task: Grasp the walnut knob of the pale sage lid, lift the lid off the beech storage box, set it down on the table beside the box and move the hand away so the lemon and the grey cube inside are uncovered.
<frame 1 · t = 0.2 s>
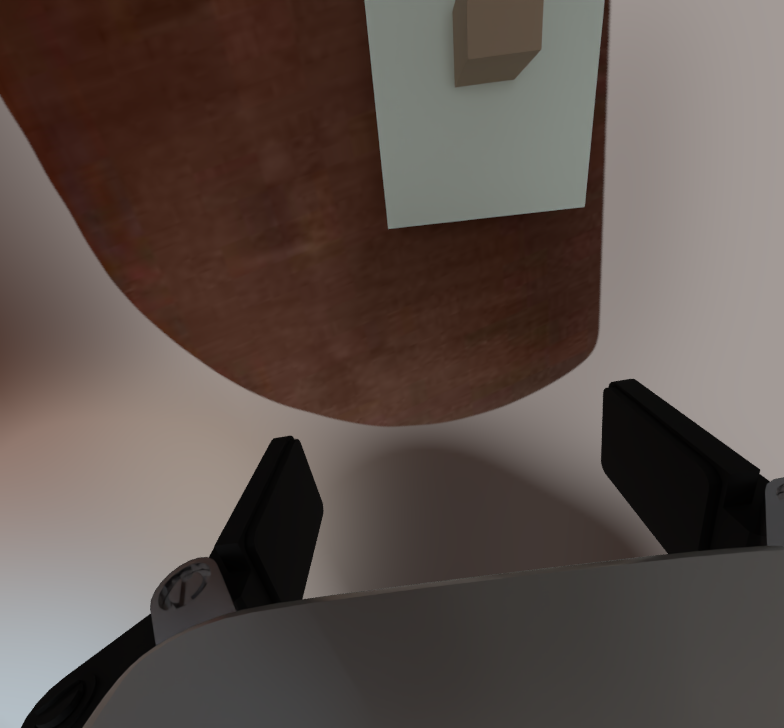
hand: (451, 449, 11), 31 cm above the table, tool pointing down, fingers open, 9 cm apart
lid: (481, 51, 24), point 9 cm above the table, touching box
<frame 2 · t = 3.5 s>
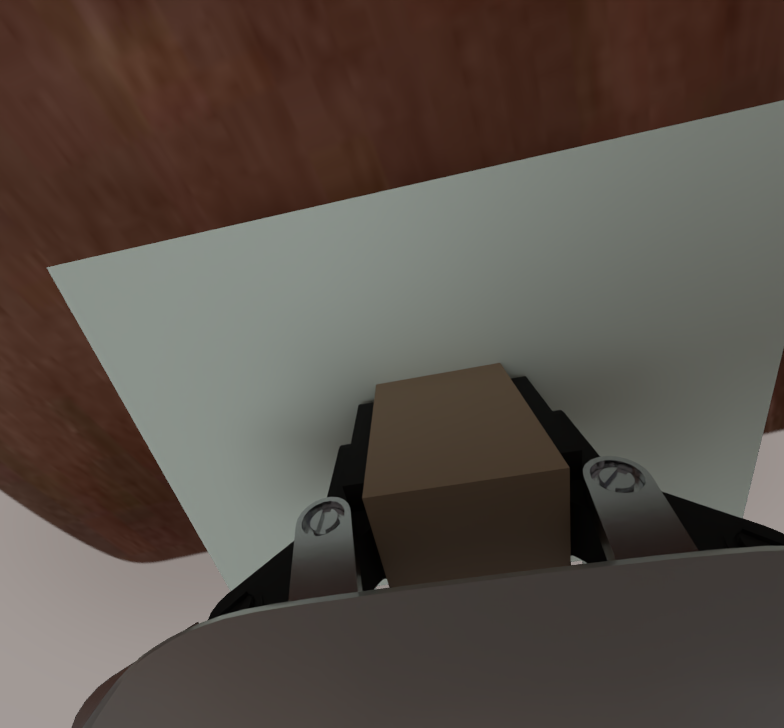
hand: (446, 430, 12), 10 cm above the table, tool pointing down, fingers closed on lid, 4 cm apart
lid: (443, 413, 13), point 9 cm above the table, touching box, gripper
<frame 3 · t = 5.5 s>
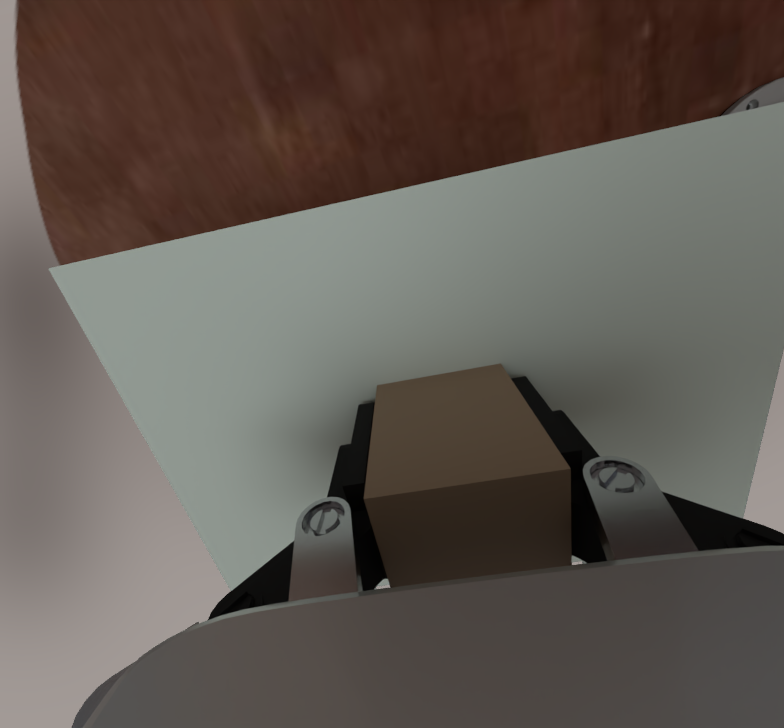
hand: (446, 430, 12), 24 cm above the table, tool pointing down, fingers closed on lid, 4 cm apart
lid: (443, 414, 13), point 23 cm above the table, touching gripper
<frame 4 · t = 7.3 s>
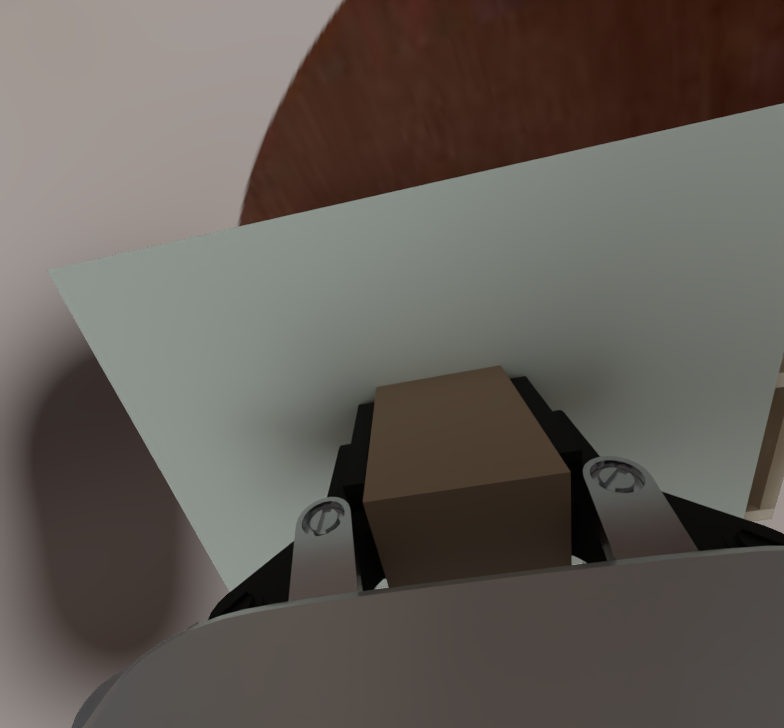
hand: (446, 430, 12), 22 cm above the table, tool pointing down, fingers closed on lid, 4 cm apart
box: (596, 412, 37), on the table
lid: (443, 415, 13), point 21 cm above the table, touching gripper
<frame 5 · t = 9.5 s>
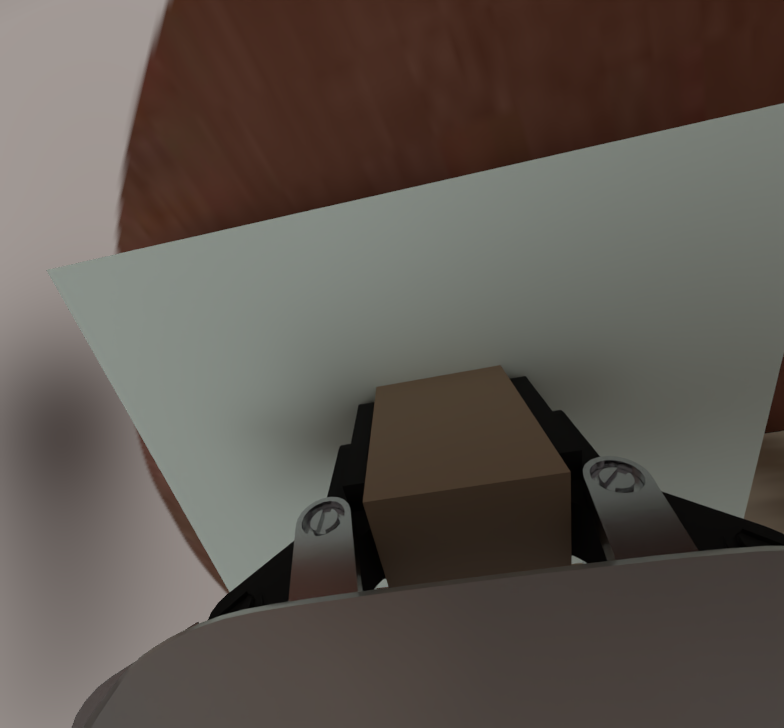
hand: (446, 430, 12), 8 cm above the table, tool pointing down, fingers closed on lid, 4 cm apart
box: (711, 528, 24), on the table
lid: (443, 415, 13), point 7 cm above the table, touching gripper
when the fingers open (3 cm above the table, at t = 11.4 s): lid drops 2 cm, on the table.
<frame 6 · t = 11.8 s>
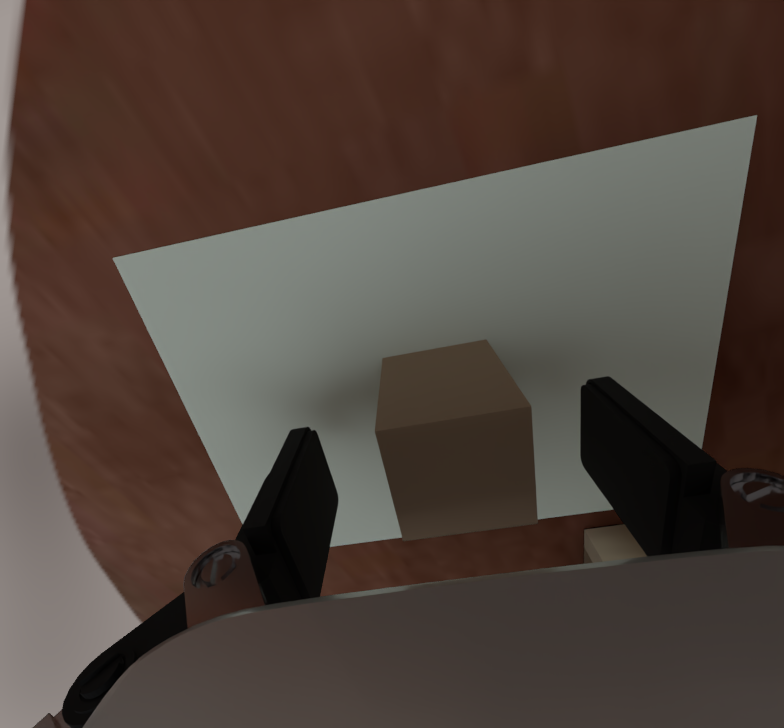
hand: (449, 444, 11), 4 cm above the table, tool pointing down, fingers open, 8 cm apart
box: (779, 601, 19), on the table
lid: (439, 385, 15), on the table
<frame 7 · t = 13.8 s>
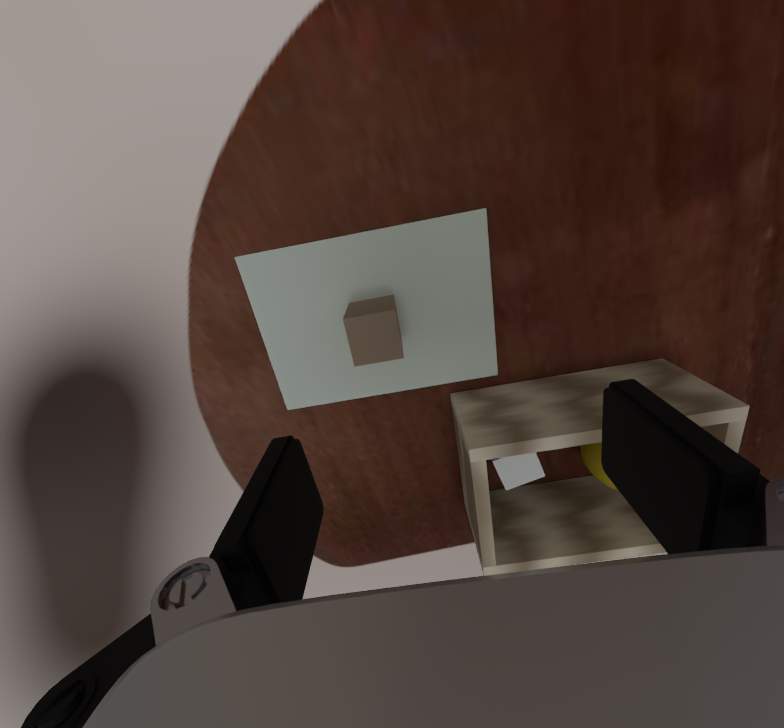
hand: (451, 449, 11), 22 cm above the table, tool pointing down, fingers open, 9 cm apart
box: (554, 437, 38), on the table
lid: (376, 317, 33), on the table
grey cube: (506, 443, 38), resting in box
lemon: (592, 429, 38), resting in box
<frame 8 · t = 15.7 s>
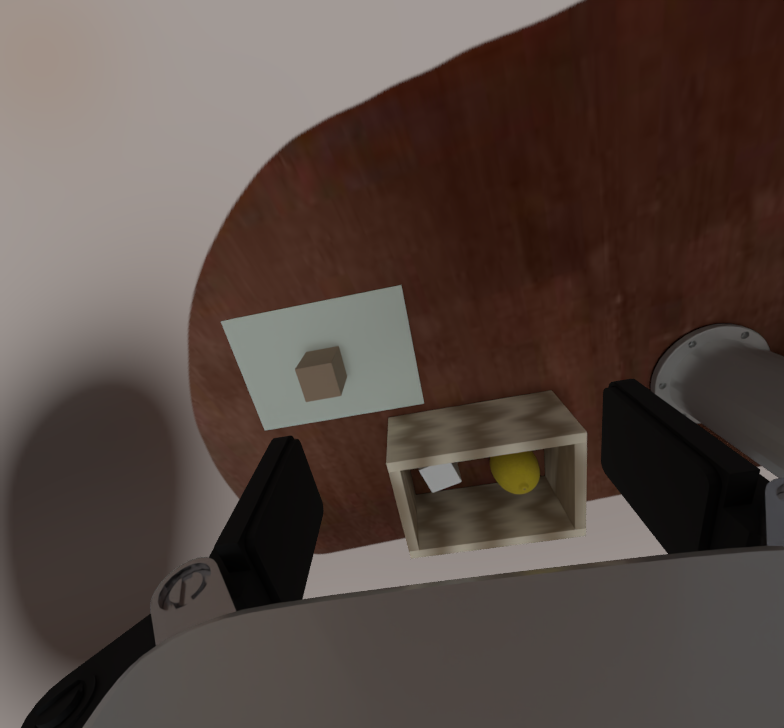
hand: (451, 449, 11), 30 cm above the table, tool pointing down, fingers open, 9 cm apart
box: (474, 450, 48), on the table
lid: (328, 361, 44), on the table
grey cube: (437, 455, 48), resting in box
lemon: (504, 444, 48), resting in box
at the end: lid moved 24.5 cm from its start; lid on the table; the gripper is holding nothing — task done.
